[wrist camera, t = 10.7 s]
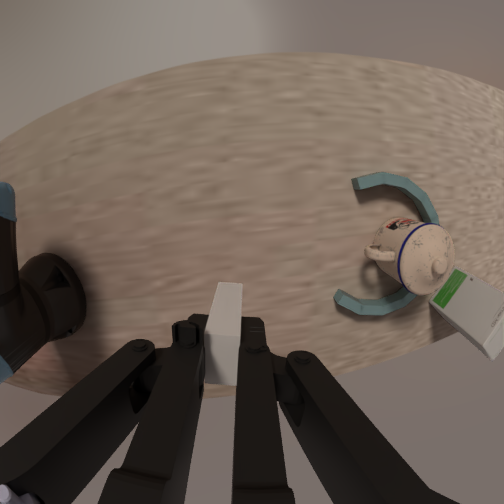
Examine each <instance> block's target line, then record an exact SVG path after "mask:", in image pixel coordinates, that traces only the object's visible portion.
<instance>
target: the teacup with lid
mask: <svg viewBox="0 0 504 504" xmlns="http://www.w3.org/2000/svg"><path fill="white" fill-rule="evenodd" d="M365 256H366V257H368V258H369V259H372V260H375V261H376V263H377V265H378V266H379V268H380V269H381V270H382V271H384V272H385V273H387V274H388V275H389V276H391V277H392V278H394V279H395V280H397V281H398V282H399V283H401V284H402V285H403V286H404V288H405V289H406V290H407V291H409V292H410V293H412V294H415V295H428V294H431V293H433V292H435V291H437V290H438V289H439V288H440V287H441V286H442V285H443V284H444V283H445V282H446V281H447V279H448V277H449V275H450V273H451V271H452V268H453V264H454V258H455V251H454V245H453V241H452V239H451V237H450V235H449V234H448V232H447V231H446V230H445V229H444V228H443V227H441V226H440V225H438V224H435V223H423V222H419V221H415V220H411V219H407V218H402V217H398V218H393V219H391V220H389V221H387V222H386V223H384V224H383V225H382V226H381V228H380V229H379V230H378V232H377V234H376V237H375V240H374V244H373V245H368V246H366V247H365Z"/></svg>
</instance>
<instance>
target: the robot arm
mask: <svg viewBox="0 0 504 504" xmlns="http://www.w3.org/2000/svg"><path fill="white" fill-rule="evenodd" d="M16 222H17V218H16V212H15V192H14V189H13V188H12V186H11V185H10V184H8V183H5V182H0V384H1V383H2V382H3V381H5V380H6V379H7V378H8V377H11V376H12V375H13V374H14V373H15V372H16V371H17V370H18V369H19V368H20V367H21V366H22V365H23V364H24V363H25V362H26V361H27V360H29V359H30V358H31V357H32V356H33V355H34V354H35V353H36V352H37V351H38V350H39V349H40V348H41V347H43V346H44V345H45V344H46V343H47V342H51V341H54V340H58V339H62V338H66V337H69V336H71V335H72V334H73V333H75V332H76V331H77V330H78V329H79V328H80V327H81V326H82V324H83V322H84V320H85V316H86V300H85V295H84V291H83V288H82V285H81V283H80V281H79V279H78V277H77V275H76V274H75V272H74V271H73V269H72V268H71V267H70V266H69V265H68V263H66V262H65V261H64V260H63V259H62V258H60V257H59V256H57V255H55V254H51V253H42V254H39V255H37V256H34V257H32V258H31V259H29V260H28V261H27V262H26V264H25V265H24V266H23V267H22V268H21V269H20V270H19V271H18V261H17V247H16ZM242 284H243V283H228V282H218V286H217V289H216V293H215V296H214V300H213V303H212V307H211V310H210V314H209V315H204V314H193V315H191V316H190V317H188V320H183V321H178V322H176V323H174V324H173V325H172V336H173V343H172V345H171V347H168V348H157V349H155V346H154V344H153V343H152V342H151V341H149V340H145V339H136V340H132V341H130V342H128V343H127V344H125V345H124V346H123V347H122V348H120V349H119V350H118V351H117V352H116V353H114V354H113V355H112V356H111V357H109V358H108V359H107V360H106V361H104V362H103V363H102V364H101V365H100V366H98V367H97V368H96V369H95V370H93V371H92V372H91V373H90V374H89V375H87V376H86V377H85V378H84V379H82V380H81V381H80V382H79V383H78V384H76V385H75V386H74V387H73V388H71V389H70V390H69V391H68V392H67V393H65V394H64V395H63V396H62V397H61V398H59V399H58V400H57V401H56V402H54V403H53V404H52V405H51V406H50V407H48V408H47V409H46V410H45V411H44V412H42V413H41V414H40V415H39V416H38V417H36V418H35V419H34V420H33V421H32V422H31V423H29V424H28V425H27V426H26V427H24V428H23V429H22V430H21V431H20V432H18V433H17V434H16V435H15V436H14V437H12V438H11V439H10V440H9V441H8V442H6V443H5V444H4V445H3V446H2V447H0V504H71V503H72V502H73V501H74V500H75V499H76V497H77V496H78V495H79V494H80V493H81V492H82V490H83V489H84V488H85V487H86V486H87V484H88V483H89V482H90V481H91V480H92V478H93V477H94V476H95V475H96V473H97V472H98V471H99V470H100V469H101V468H102V466H103V465H104V464H105V463H106V461H107V460H108V459H109V458H110V457H111V455H112V454H113V453H114V452H115V451H116V449H117V448H118V447H119V445H121V443H122V442H123V441H124V440H125V438H126V437H127V436H128V435H129V433H130V432H131V431H132V430H133V429H134V427H135V426H136V425H137V424H138V422H139V424H138V426H137V429H136V431H135V434H134V436H133V439H132V441H131V444H130V446H129V449H128V452H127V454H126V457H125V459H124V462H123V464H122V466H121V467H120V468H118V469H117V468H114V469H113V470H112V471H111V472H110V474H109V476H108V478H107V480H106V483H105V486H104V488H103V491H102V494H101V496H100V499H99V501H98V504H184V501H185V494H186V488H187V482H188V476H189V470H190V463H191V458H192V453H193V447H194V441H195V435H196V430H197V424H198V419H199V413H200V408H201V402H202V397H203V392H204V377H205V383H208V384H220V385H234V386H236V403H235V404H236V405H235V427H234V451H233V475H232V476H233V477H232V478H233V479H232V501H231V504H295V498H294V493H293V491H292V489H291V488H289V487H288V484H287V478H286V469H285V462H284V454H283V446H282V438H281V432H280V423H279V415H278V408H277V401H279V405H280V407H281V409H282V411H283V413H284V415H285V417H286V419H287V421H288V423H289V425H290V427H291V428H292V430H293V432H294V434H295V436H296V438H297V439H298V441H299V443H300V445H301V447H302V449H303V451H304V453H305V454H306V456H307V458H308V460H309V462H310V463H311V465H312V467H313V469H314V471H315V472H316V474H317V476H318V478H319V479H320V481H321V483H322V485H323V486H324V488H325V490H326V491H327V493H328V495H329V497H330V498H331V500H332V502H333V503H334V504H460V503H457V502H455V501H453V500H451V499H449V498H447V497H445V496H443V495H441V494H439V493H437V492H435V491H433V490H431V489H429V488H428V486H427V485H426V484H425V483H424V482H423V481H422V480H421V479H420V477H419V476H418V475H417V474H416V473H415V472H414V470H413V469H412V468H411V467H410V466H409V465H408V464H407V463H406V461H405V460H404V459H403V458H402V457H401V456H400V455H399V453H398V452H397V451H396V450H395V449H394V448H393V446H392V445H391V444H390V443H389V442H388V441H387V439H386V438H385V437H384V436H383V435H382V434H381V433H380V432H379V430H378V429H377V428H376V427H375V426H374V424H373V423H372V422H371V421H370V420H369V418H368V417H367V416H366V415H365V414H364V413H363V411H362V410H361V409H360V408H359V407H358V406H357V404H356V403H355V402H354V401H353V400H352V398H351V397H350V396H349V395H348V394H347V393H346V391H345V390H344V389H343V388H342V387H341V385H340V384H339V383H338V382H337V381H336V379H335V378H334V377H333V376H332V375H331V373H330V372H329V371H328V370H327V369H326V367H325V366H324V365H323V364H322V362H321V361H320V360H319V359H318V358H317V357H316V356H315V355H314V354H313V353H310V352H308V351H302V350H301V351H293V352H291V353H289V354H288V356H287V358H285V357H281V356H277V355H275V354H273V353H271V352H270V349H269V347H268V346H267V343H266V335H265V328H264V322H263V321H262V320H261V319H260V318H257V317H241V309H242Z"/></svg>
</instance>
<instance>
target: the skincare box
mask: <svg viewBox="0 0 504 504" xmlns="http://www.w3.org/2000/svg"><path fill="white" fill-rule="evenodd" d="M429 303H430V304H431V305H432V306H433V307H434V308H435V309H436V310H437V312H438V313H439V314H440V315H441V316H442V317H443V318H444V319H445V320H446V321H447V322H448V323H450V324H451V325H452V326H453V327H454V328H455V329H457V330H458V331H459V332H460V333H461V334H462V335H463V336H465V337H466V338H467V339H468V340H469V341H470V342H471V343H472V344H473V345H475V346H476V347H477V348H478V349H479V350H480V351H481V352H482V353H483V354H484V355H485V356H487V358H489V359H490V360H491V361H493V360H494V359H495V358H496V356H497V355H498V354H499V353H500V351H501V350H502V348H503V347H504V292H502V291H501V290H499V289H497V288H495V287H494V286H492V285H490V284H488V283H487V282H485V281H483V280H481V279H479V278H478V277H476V276H474V275H472V274H470V273H468V272H466V271H465V270H463V269H461V268H459V267H457V266H454V268H453V269H452V271H451V273H450V275H449V277H448V279H447V281H446V282H445V283H444V284H443V285H442V286H441V287H440V288H439V289H438V290H437V291H436V293H435V294H434V295H433V297H432V298H431V299H430V301H429Z"/></svg>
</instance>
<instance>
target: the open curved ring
mask: <svg viewBox="0 0 504 504" xmlns="http://www.w3.org/2000/svg"><path fill="white" fill-rule="evenodd" d="M351 180H352V184H353V188H354V189H355V190H361V189H365V188H369V187H372V186H376V185H380V184H381V185H386V186H391V187H395V188H398V189H399V190H400V191H402V192H403V193H404V194H405V195H407V196H408V197H409V198H411V199H412V200H413V202H414V203H415V205H416V207H417V209H418V211H419V213H420V214H421V216H422V218H423V223H435V224H438V225H439V219H438V215H437V213H436V211H435V209H434V207H433V205H432V203H431V201H430V199H429V197H428V195H427V194H426V193H425V192H424V191H423V190H422V189H421V188H419V187H418V186H417V185H416V184H415V183H413V182H412V181H411V180H410V179H408V178H406V177H402V176H398V175H394V174H390V173H385V172H378V173H373V174H369V175H365V176H361V177H357V178H353V179H351ZM416 296H417V295H415V294H412V293H410V292H409V291H407V290H406V289H405V288H404V286H403V287H402V288H401V289H400V290H399V291H397V292H396V293H394V294H392V295H389V296H386V297H384V298H381V299H378V300H369V299H357V298H355V297H353V296H352V295H350V294H348V293H346V292H344V291H342V290H340V289H338V291H337V292H336V294H335V296H334V297H333V298H334V299H335V300H336V302H337V303H338V304H339V305H341V306H343V307H345V308H347V309H349V310H351V311H353V312H355V313H357V314H359V315H385V314H387V313H390V312H392V311H395V310H397V309H400V308H402V307H405V306H406V305H407V304H408V303H409V302H411V301H412V300H413V299H414V298H415V297H416Z"/></svg>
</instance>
